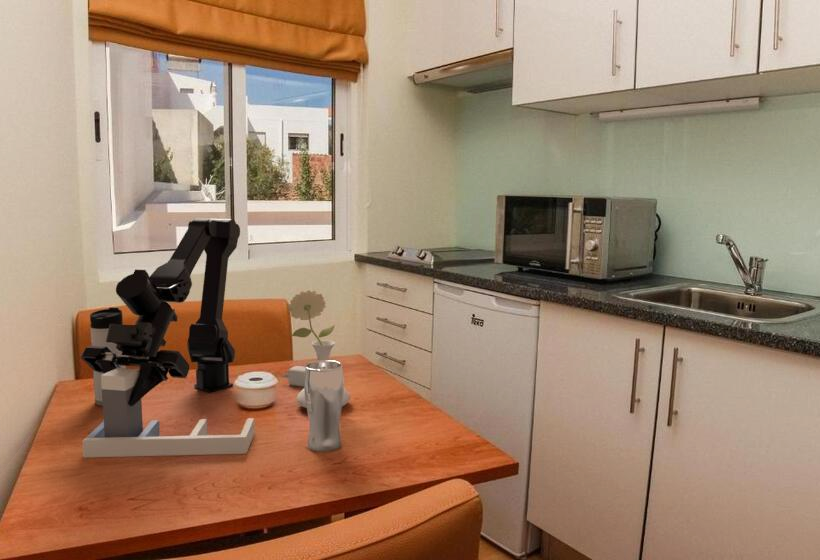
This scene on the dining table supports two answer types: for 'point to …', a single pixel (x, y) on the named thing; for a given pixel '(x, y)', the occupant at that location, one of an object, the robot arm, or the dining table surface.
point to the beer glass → (324, 403)
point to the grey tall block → (120, 404)
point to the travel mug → (103, 340)
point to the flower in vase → (305, 309)
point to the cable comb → (167, 442)
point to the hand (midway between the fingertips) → (117, 404)
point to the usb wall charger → (296, 376)
